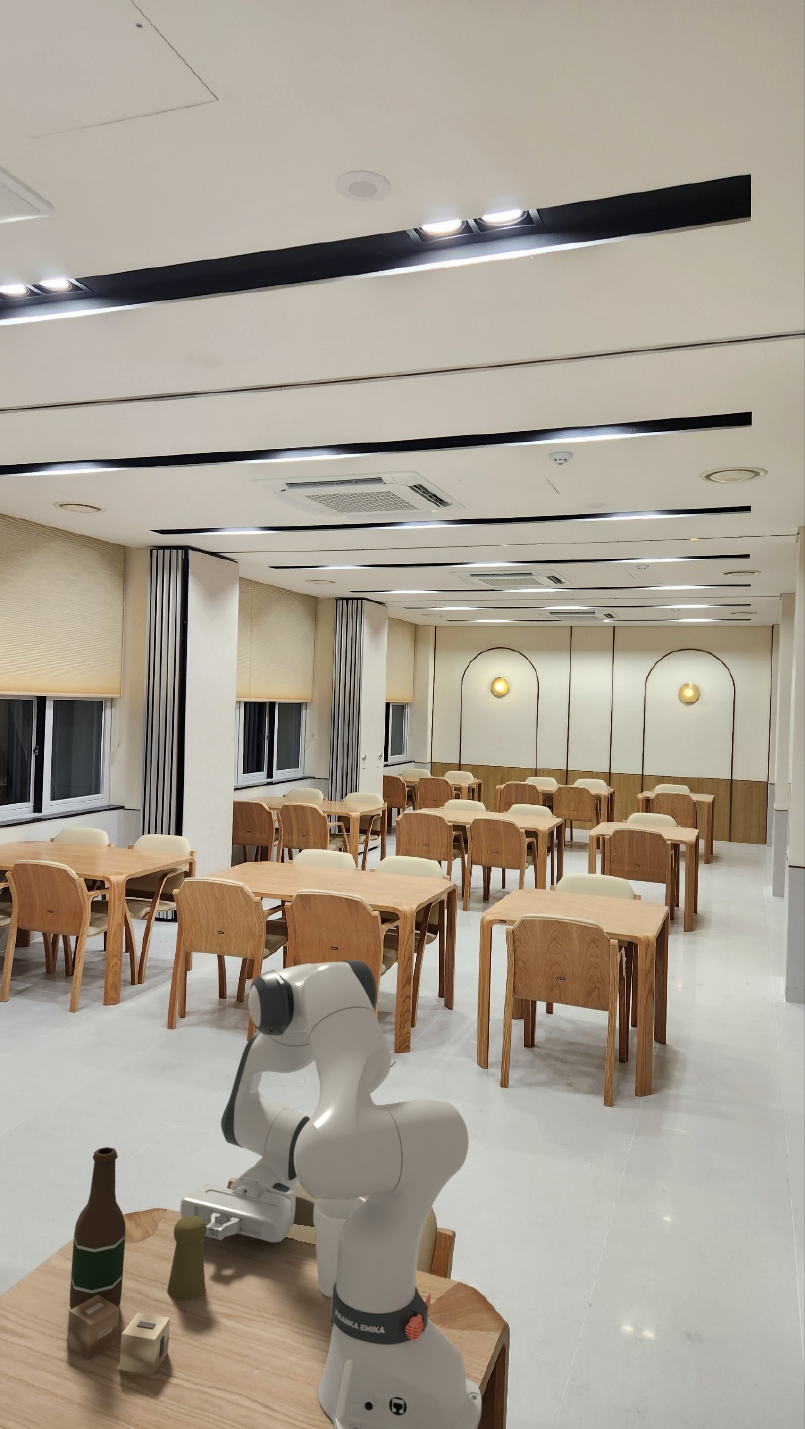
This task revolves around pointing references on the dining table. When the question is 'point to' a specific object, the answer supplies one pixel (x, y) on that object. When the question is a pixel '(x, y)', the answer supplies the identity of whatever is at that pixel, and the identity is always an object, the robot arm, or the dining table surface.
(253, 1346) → the dining table surface
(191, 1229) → the cork
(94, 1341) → the walnut cube marked
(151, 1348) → the beech cube marked
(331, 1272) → the foam cup
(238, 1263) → the dining table surface
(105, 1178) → the beer bottle
